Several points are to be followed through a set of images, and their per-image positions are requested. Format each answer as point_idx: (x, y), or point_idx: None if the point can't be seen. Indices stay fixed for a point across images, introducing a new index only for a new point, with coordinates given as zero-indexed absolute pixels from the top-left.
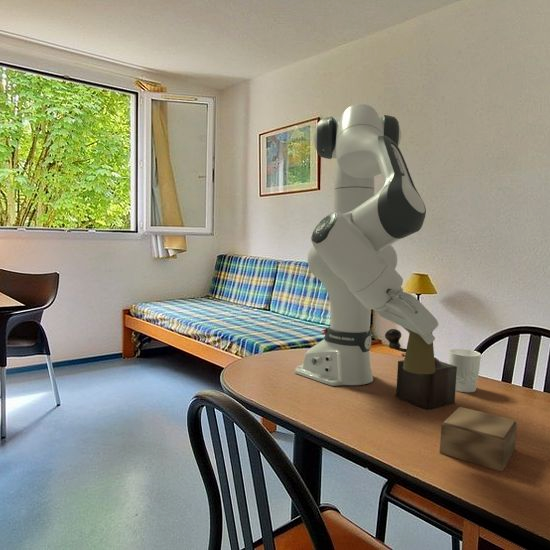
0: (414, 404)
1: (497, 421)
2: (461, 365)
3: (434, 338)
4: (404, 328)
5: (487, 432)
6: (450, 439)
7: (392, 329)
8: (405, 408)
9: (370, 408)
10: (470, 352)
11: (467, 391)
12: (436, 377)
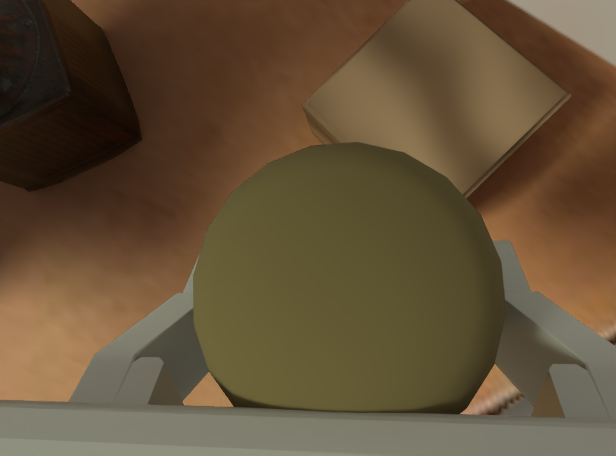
0: (103, 161)
1: (439, 42)
2: None
3: (507, 244)
4: (198, 377)
5: (524, 121)
6: None
7: None
8: (123, 200)
9: (109, 311)
10: None
11: None
12: (73, 66)
